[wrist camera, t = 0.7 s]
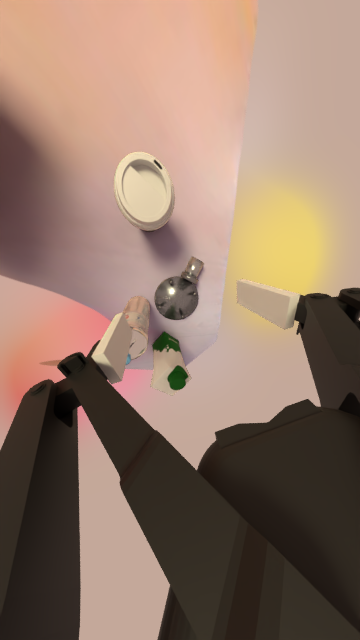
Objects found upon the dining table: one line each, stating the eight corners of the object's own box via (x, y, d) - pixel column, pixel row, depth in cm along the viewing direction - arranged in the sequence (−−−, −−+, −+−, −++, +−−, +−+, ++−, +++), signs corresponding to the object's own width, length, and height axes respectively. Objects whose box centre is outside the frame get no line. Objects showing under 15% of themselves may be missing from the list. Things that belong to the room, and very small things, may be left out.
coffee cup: (174, 225, 35) (187, 206, 22) (144, 246, 36) (139, 240, 22) (152, 181, 31) (151, 124, 17) (118, 206, 31) (94, 170, 18)
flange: (147, 309, 43) (147, 315, 39) (174, 247, 37) (178, 246, 33) (184, 323, 48) (188, 330, 44) (214, 271, 42) (221, 273, 37)
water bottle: (144, 292, 41) (134, 335, 19) (153, 311, 44) (154, 367, 22) (123, 299, 41) (88, 352, 19) (133, 318, 44) (114, 382, 22)
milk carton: (181, 340, 51) (197, 384, 33) (166, 355, 53) (173, 405, 35) (163, 328, 48) (170, 371, 30) (148, 345, 49) (145, 395, 32)
